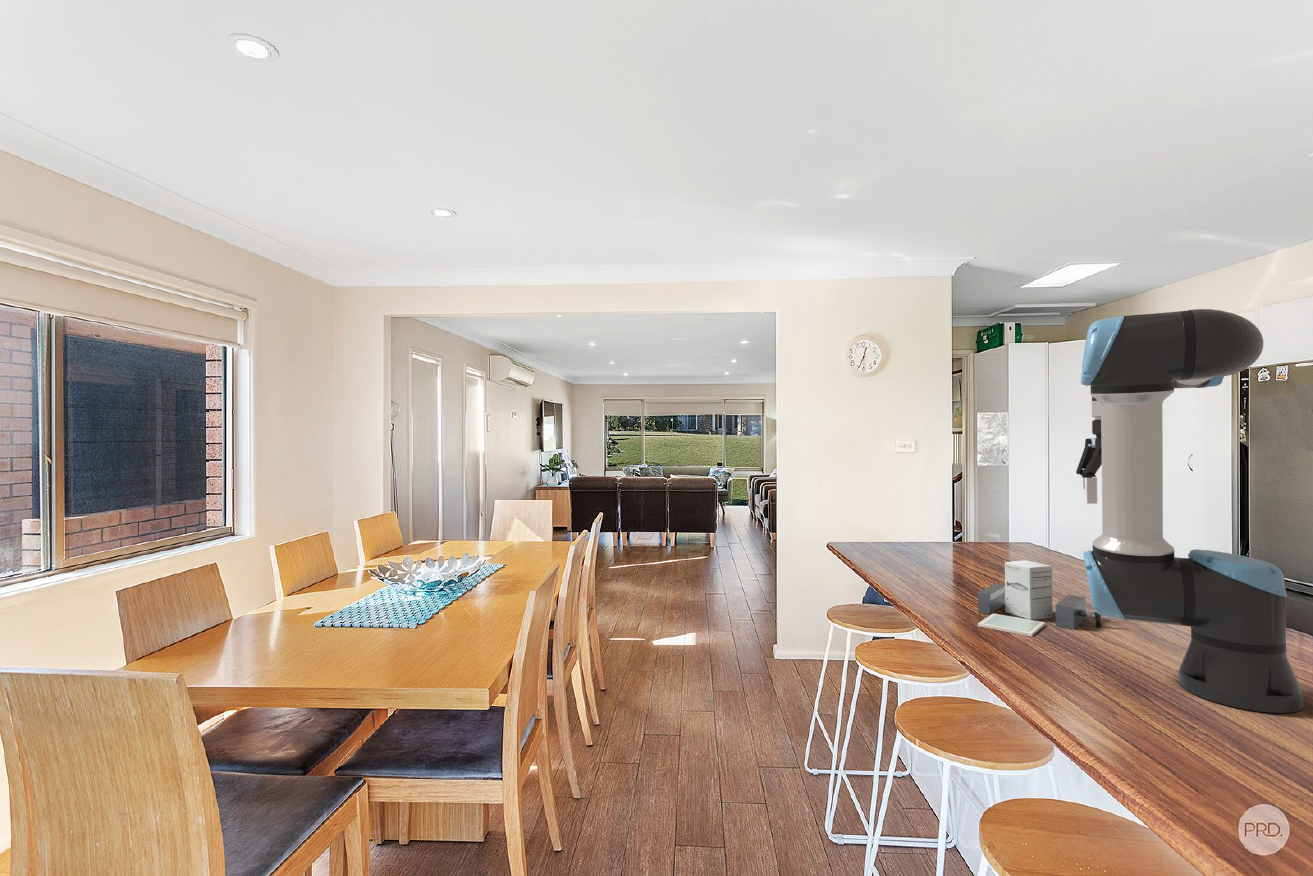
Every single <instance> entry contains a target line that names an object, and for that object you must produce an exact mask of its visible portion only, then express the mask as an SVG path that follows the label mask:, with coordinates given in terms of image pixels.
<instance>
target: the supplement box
mask: <svg viewBox="0 0 1313 876" xmlns="http://www.w3.org/2000/svg"><path fill="white" fill-rule="evenodd" d="M1004 586H1005V605H1004V606H1005V608H1004V609H1005V610H1004V611H1005V613H1006V614H1007V613H1008V614H1011V615H1015V616H1017V617H1019V618H1020V617H1021V618H1022V619H1028V620H1033V621H1038V620H1043V619H1051V618H1053V565H1049V564H1045V563H1040V562H1036V561H1032V560H1031V561H1030V560H1025V559H1023V560H1014V561H1005V562H1004Z"/></svg>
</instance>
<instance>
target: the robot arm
mask: <svg viewBox="0 0 1313 876" xmlns="http://www.w3.org/2000/svg"><path fill="white" fill-rule="evenodd" d="M1084 344H1085V345H1084V350H1083V359H1082V363H1081V364H1082V365H1081V373H1080V375H1081V376H1080V384H1081V385H1082V386H1085V387H1090V396H1091V417H1092V418H1094V419H1093V420H1092V421H1091V433H1092V434H1093V435H1095V437H1094V438H1085V442H1084V449H1083V452H1082V454H1081V457H1080V460H1079V462H1078V465H1077V468H1076V471H1075V473H1076V475H1080V476H1081V477H1082V479H1083V480H1082V481H1083V490H1084V504H1088V505H1089V504H1091V505H1092V504H1098V477H1097V475H1096V474H1097V472H1099V469H1100V468H1101V517H1102V520H1101V521H1102V533H1101V535H1100V536H1098V537H1096V538H1095V539H1094V540H1092V550H1089V549H1088V550H1086V551H1083V553H1082V554H1083V560H1084V567H1085V573H1086V578H1087V584H1088V589H1089V594H1090V596H1089V597H1090V601H1091V605H1092V606H1091V607H1092V609H1093V610H1094V612H1097V613H1098V614H1100V615H1101V617H1108V618H1114V619H1121V620H1122V621H1127V620H1128V621H1138V622H1143V623H1144V622H1145V623H1147V622H1148V623H1153V624H1163V625H1171V626H1172V625H1174V626H1182V627H1183V626H1184V627H1190V643H1189V645H1188V647H1187V649H1186V652H1185V653H1184V656H1183V659H1182V660H1181V664H1180V666H1179V669H1178V684H1179V686H1180V687H1181V688H1182V689H1184V690H1185V691H1187V692H1188V693H1191V694H1192V695H1195V696H1197V697H1200V698H1202V699H1205V700H1206V701H1207V700H1208V701H1211V702H1214V703H1217V704H1220V705H1225V706H1228V707H1231V708H1232V707H1233V708H1238V709H1242V710H1247V711H1254V712H1262V713H1269V714H1270V713H1273V714H1290V713H1296V712H1297V713H1298V712H1299V711H1301V710H1303V709H1304V694H1303V691H1302V688H1301V686H1300V684H1299V681H1298V679H1297V677H1296V675H1295V672H1294V670H1293V668H1292V666H1291V663H1290V661H1289V659H1288V655H1287V619H1286V614H1287V611H1286V608H1287V607H1286V605H1287V604H1286V598H1287V597H1288V594H1287V591H1286V583H1285V577H1284V576H1285V575H1284V573H1283V571H1282V570H1281V568H1279V567H1278V566H1277V565H1275V564H1273V563H1271V562H1268V561H1265V560H1261V559H1257V558H1254V557H1249V556H1245V555H1240V554H1234V553H1229V552H1223V551H1216V550H1211V549H1197V548H1196V549H1191V550H1190V551H1189V553H1188V554H1187V557H1177V556H1176V557H1175V547H1173V545H1171V543H1169V542H1168V541H1166V540H1165V538H1164V512H1163V511H1164V507H1163V506H1164V494H1163V493H1164V492H1163V491H1164V489H1163V488H1164V487H1163V486H1164V483H1163V482H1164V479H1163V477H1164V475H1163V474H1164V473H1163V470H1164V469H1163V467H1164V465H1163V463H1164V462H1163V461H1164V460H1163V458H1164V457H1163V453H1164V452H1163V451H1164V450H1163V446H1164V444H1163V441H1164V440H1163V434H1164V433H1163V403H1164V401H1165V400H1166V399H1167V398H1168V397H1169V396H1171V395H1172V394H1174V392H1175V389H1193V388H1195V389H1196V388H1197V389H1202V388H1203V389H1204V388H1210V387H1211V388H1213V387H1218V386H1220V385H1221V384H1222V383H1223V380H1224V378H1225V377H1228V376H1232V375H1236V374H1238V373H1240V372H1242V371H1245V370H1246V369H1248V368H1249V367H1251V366H1252V365H1253V364H1254V363H1255V362H1256V361H1257V360H1259V357H1260V356H1261V354H1262V352H1263V350H1264V338H1263V335H1262V332H1261V330H1260V329H1259V328H1258V327H1257V325H1256V324H1254V323H1253V322H1252V321H1250V320H1249V319H1247V318H1246V317H1243V316H1241V315H1238V314H1236V313H1232V312H1228V311H1224V310H1221V309H1211V308H1195V309H1188V310H1178V311H1168V312H1156V313H1145V314H1133V315H1132V314H1131V315H1120V316H1115V317H1114V316H1113V317H1109V318H1103V319H1098V320H1096V321H1093V322H1092V323H1091V324H1090V326H1089V327H1088V329H1087V334H1086V339H1085V343H1084Z"/></svg>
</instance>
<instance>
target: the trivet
mask: <svg viewBox="0 0 1313 876" xmlns="http://www.w3.org/2000/svg"><path fill="white" fill-rule="evenodd" d="M1045 626H1046V622H1044V621H1038V620H1028V619H1026V618H1023V617H1021V618H1020V617H1015V616H1010V615H1009V616H1008V615H1003V614H999V613H991V614H990V615H988V616H987V617H985V618H984V619H982V620H981V621H979V622H978V623H977V627H980V628H981V627H982V628H985V629H991V630H997V631H1001V632H1007V633H1012V634H1016V635H1022V636H1027V637H1033V636H1035V635H1036V633H1038V632H1039V631H1040V630H1042V629H1043V628H1044V627H1045Z"/></svg>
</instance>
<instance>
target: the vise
mask: <svg viewBox="0 0 1313 876" xmlns="http://www.w3.org/2000/svg"><path fill="white" fill-rule="evenodd" d="M977 597H978V598H977V604H978V606H977V607H978V613H979V614H982V615H988V616H990V615H992V614H994V613H995V612H996V611H997V610H999V609H1001V608H1002V607H1004V606H1005V584H1004V585H1003V584H997V583H996V584H995V583H993V584H991V585H990V586H988V587H986V588H984V589H982V590H980V591H978V592H977ZM1086 600H1087V598H1086V596H1081V595H1073V594H1072V595H1071V594H1067V595H1065V596H1064V597H1062V598H1061V599H1060V600H1058V601H1057V602H1055V603H1054V611H1055V627H1058V628H1062V629H1063V628H1064V629H1069V630H1073V631H1074V630H1075V629H1076V628H1077V627H1079V626H1080V624H1081V623H1083V622H1084V620H1085V619H1087V618H1091V619H1095V627H1096V628H1102V615H1100V614H1098V613H1097V612H1096V611H1089V610H1087V609H1086V605H1087V604H1086V602H1087V601H1086Z"/></svg>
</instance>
